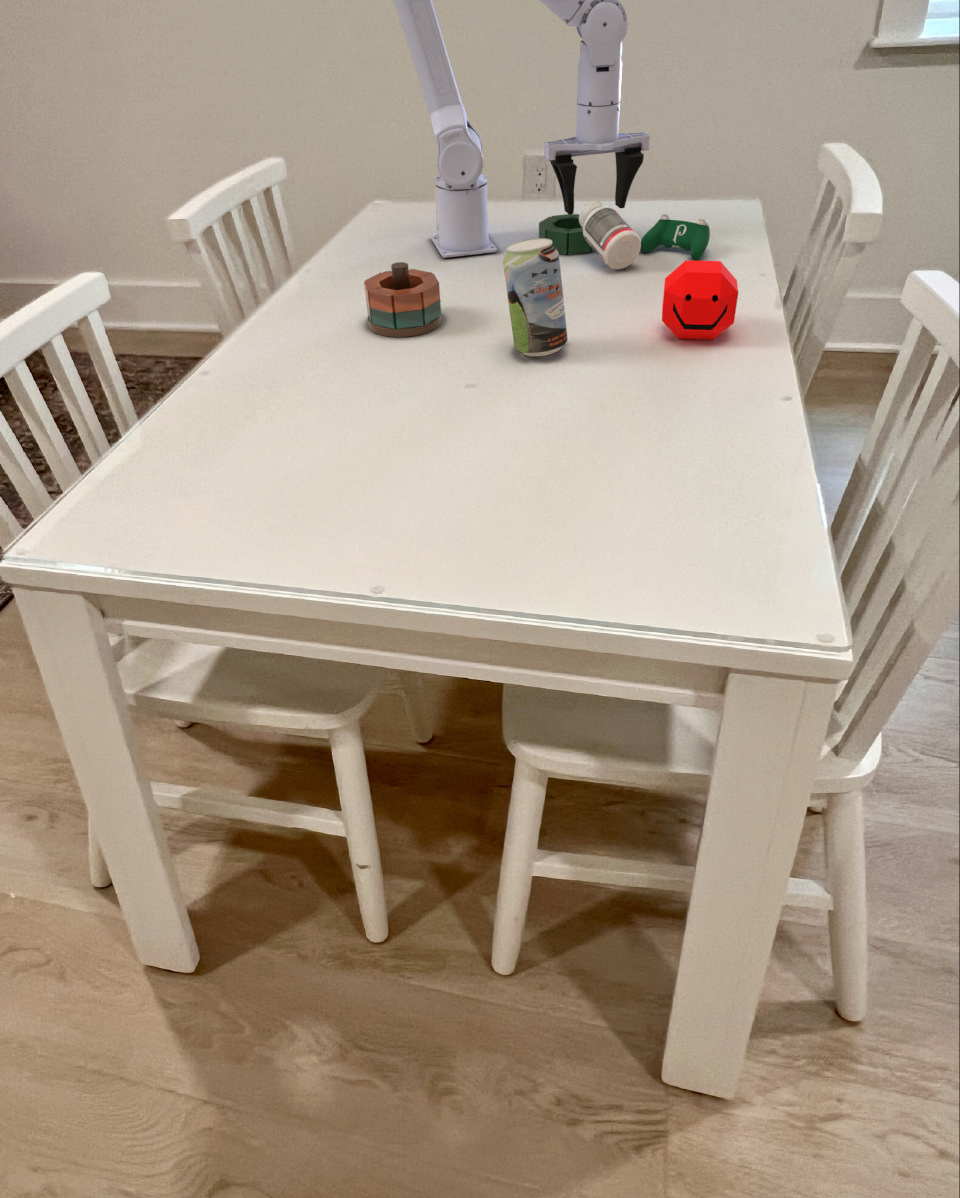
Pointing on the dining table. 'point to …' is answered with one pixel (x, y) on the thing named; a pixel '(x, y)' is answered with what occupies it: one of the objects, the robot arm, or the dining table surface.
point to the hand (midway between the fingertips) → (594, 209)
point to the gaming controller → (678, 236)
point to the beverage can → (535, 297)
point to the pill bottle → (609, 235)
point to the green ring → (565, 234)
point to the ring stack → (403, 302)
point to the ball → (699, 300)
